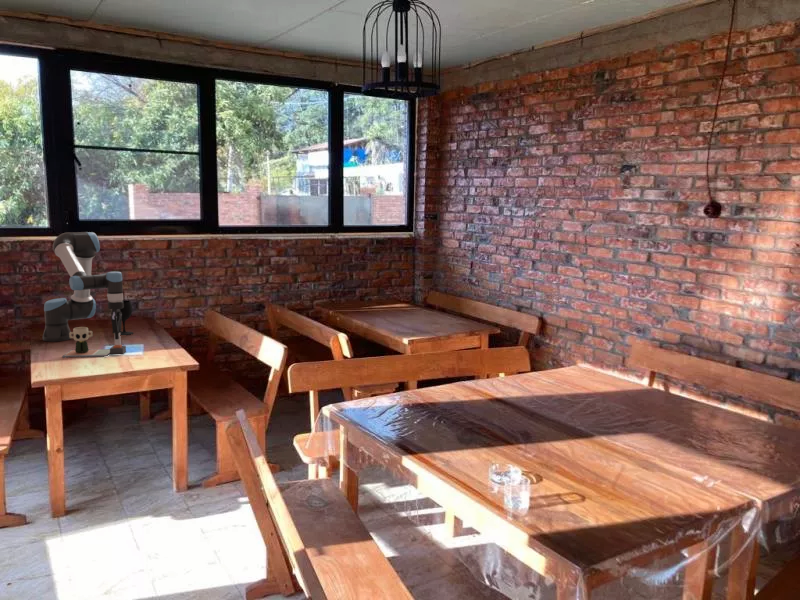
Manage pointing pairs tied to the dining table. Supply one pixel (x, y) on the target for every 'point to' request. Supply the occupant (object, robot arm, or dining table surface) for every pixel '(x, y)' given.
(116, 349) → the button housing
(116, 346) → the button cap
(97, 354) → the picture board
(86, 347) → the character mug
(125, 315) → the wine glass
